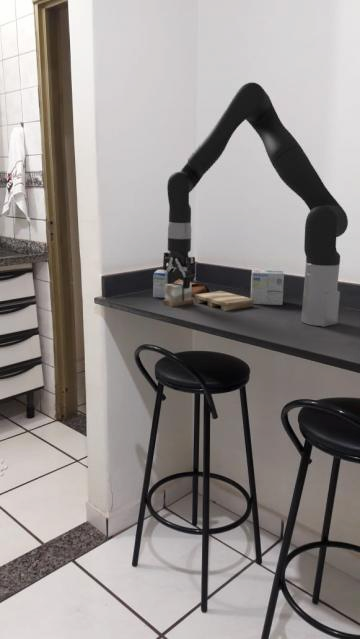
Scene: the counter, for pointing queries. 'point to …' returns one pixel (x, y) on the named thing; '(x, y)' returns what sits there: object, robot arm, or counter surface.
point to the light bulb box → (267, 287)
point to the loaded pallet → (177, 295)
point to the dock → (224, 300)
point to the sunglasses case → (196, 288)
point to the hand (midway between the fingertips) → (178, 286)
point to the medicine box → (159, 283)
